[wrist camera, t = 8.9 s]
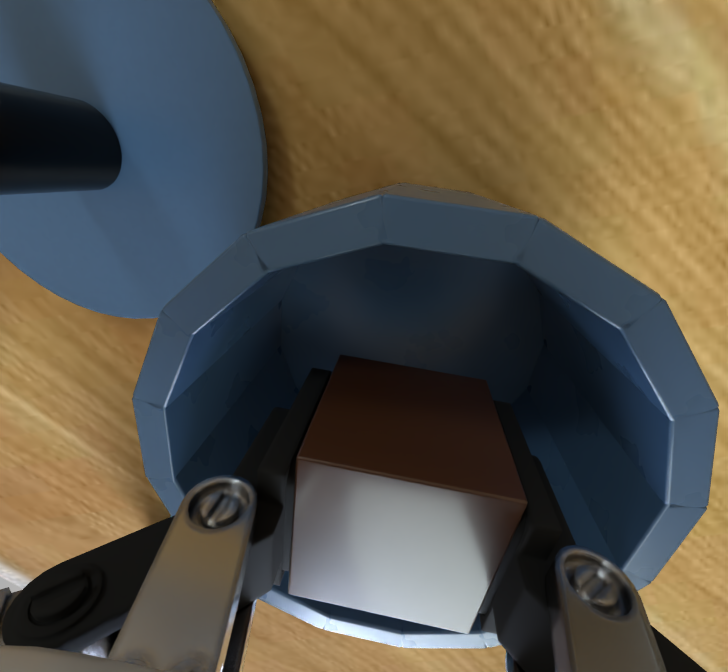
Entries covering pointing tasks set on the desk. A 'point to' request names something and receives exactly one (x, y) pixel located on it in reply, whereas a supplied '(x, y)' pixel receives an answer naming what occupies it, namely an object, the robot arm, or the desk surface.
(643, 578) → the tin
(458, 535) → the block
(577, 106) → the desk surface
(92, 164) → the tin lid
